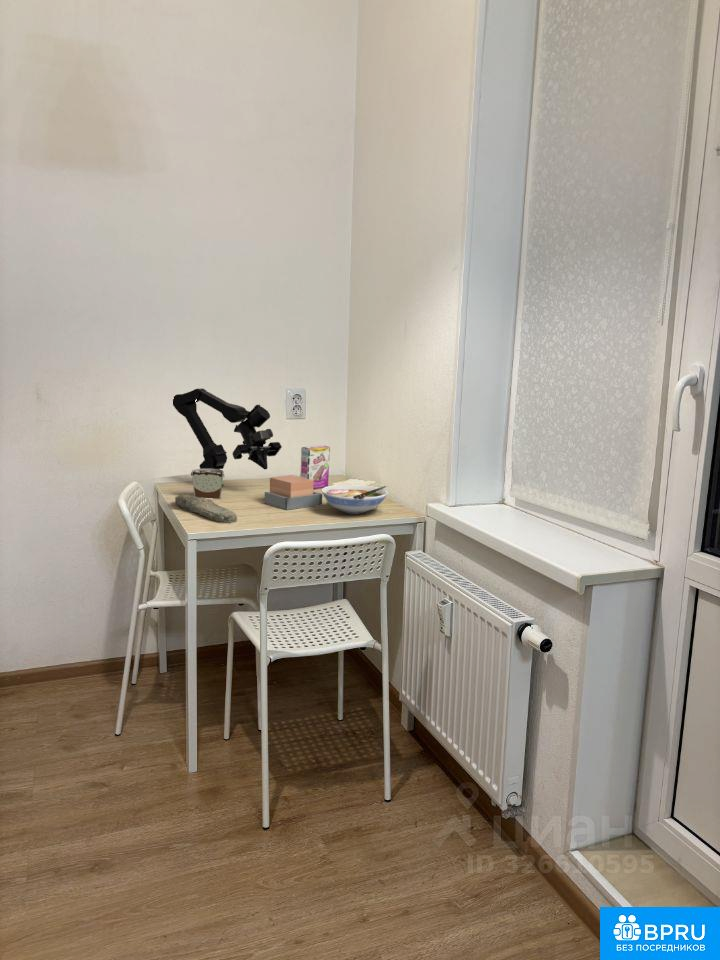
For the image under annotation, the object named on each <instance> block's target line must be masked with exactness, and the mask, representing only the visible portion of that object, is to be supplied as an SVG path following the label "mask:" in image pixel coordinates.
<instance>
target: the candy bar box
mask: <svg viewBox="0 0 720 960" xmlns="http://www.w3.org/2000/svg"><path fill="white" fill-rule="evenodd" d="M330 451H331V447H330V446H327V445H311V446H310V445H309V446H302V447H301V451H300V452H301V453H300V454H301V455H300V475H299V477H303V478H307V479H311V480H313V490H318V489H323V488H324V487H328V486H329V473H330V472H329V471H330Z"/></svg>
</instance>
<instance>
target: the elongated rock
mask: <svg viewBox="0 0 720 960" xmlns="http://www.w3.org/2000/svg"><path fill="white" fill-rule="evenodd" d="M174 498H175V500H174V502H175V504H177V505H178V506H179V507H180V508H181V509H182V508H183V510H184V511H187V510H188V512H191V513H193V514H195V513H197V514H199V516H201V515H202V516H204V517H205V518H207V519H209V520H211V519H212V521H213V520H215V521H214V522H218V521H219V523H222V522H223V523H224V524H232V523H231V522H234V523H236V522H237V520H238V518H237V517H238V516H237V513H235V511H233V510H229V509H228V508H226V507H223V506H220V505H219V504H217V503H215V502H214V501H213V499H206V498H203V497H201V498H200V497H194V495H190V494H187V493H183V494H182V495H181V494H179V495H177V496H175V497H174ZM202 516H201V517H202ZM223 523H222V524H223Z"/></svg>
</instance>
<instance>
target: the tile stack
mask: <svg viewBox="0 0 720 960" xmlns="http://www.w3.org/2000/svg"><path fill="white" fill-rule="evenodd" d="M313 491H314V489H313V480H311V479H307V478H303V477H300V475H299V476H298V475H294V474H289V475H288V474H287V475H281V476H272V477H269V492H270V493H273V494H277V495H280V496H284V497H287V498H289V497H297V496H304V495H311V494H313Z"/></svg>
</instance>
